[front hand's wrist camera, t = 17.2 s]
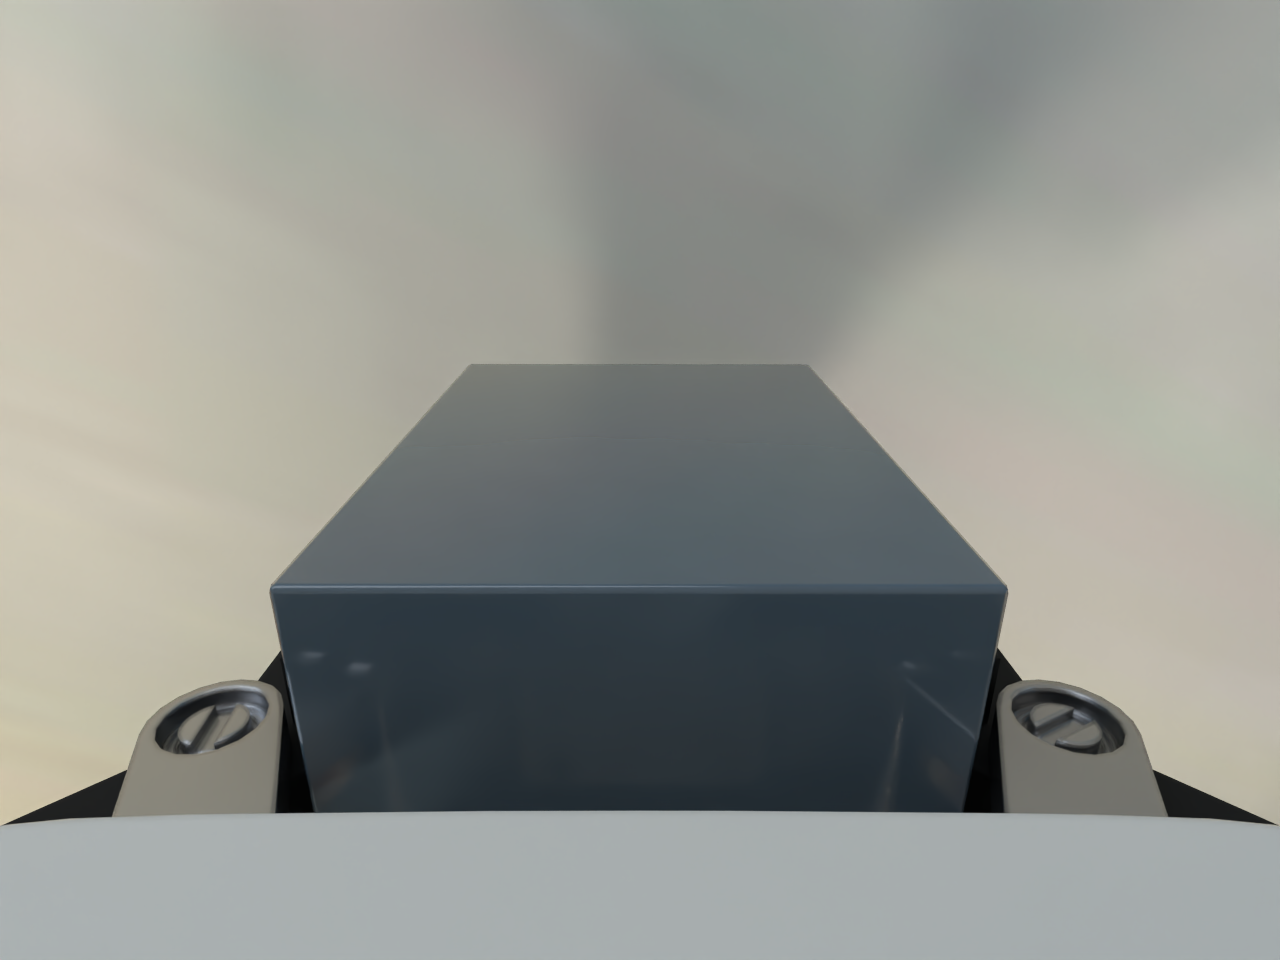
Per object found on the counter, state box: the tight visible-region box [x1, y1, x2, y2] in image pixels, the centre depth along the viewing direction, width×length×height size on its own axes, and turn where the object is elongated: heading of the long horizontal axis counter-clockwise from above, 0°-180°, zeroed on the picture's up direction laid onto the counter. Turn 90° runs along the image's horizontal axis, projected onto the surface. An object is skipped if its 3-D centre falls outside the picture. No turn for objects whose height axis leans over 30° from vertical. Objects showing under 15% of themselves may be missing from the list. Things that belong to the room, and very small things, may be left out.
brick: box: [270, 364, 1008, 813], centre depth 11 cm, size 6×6×8 cm
